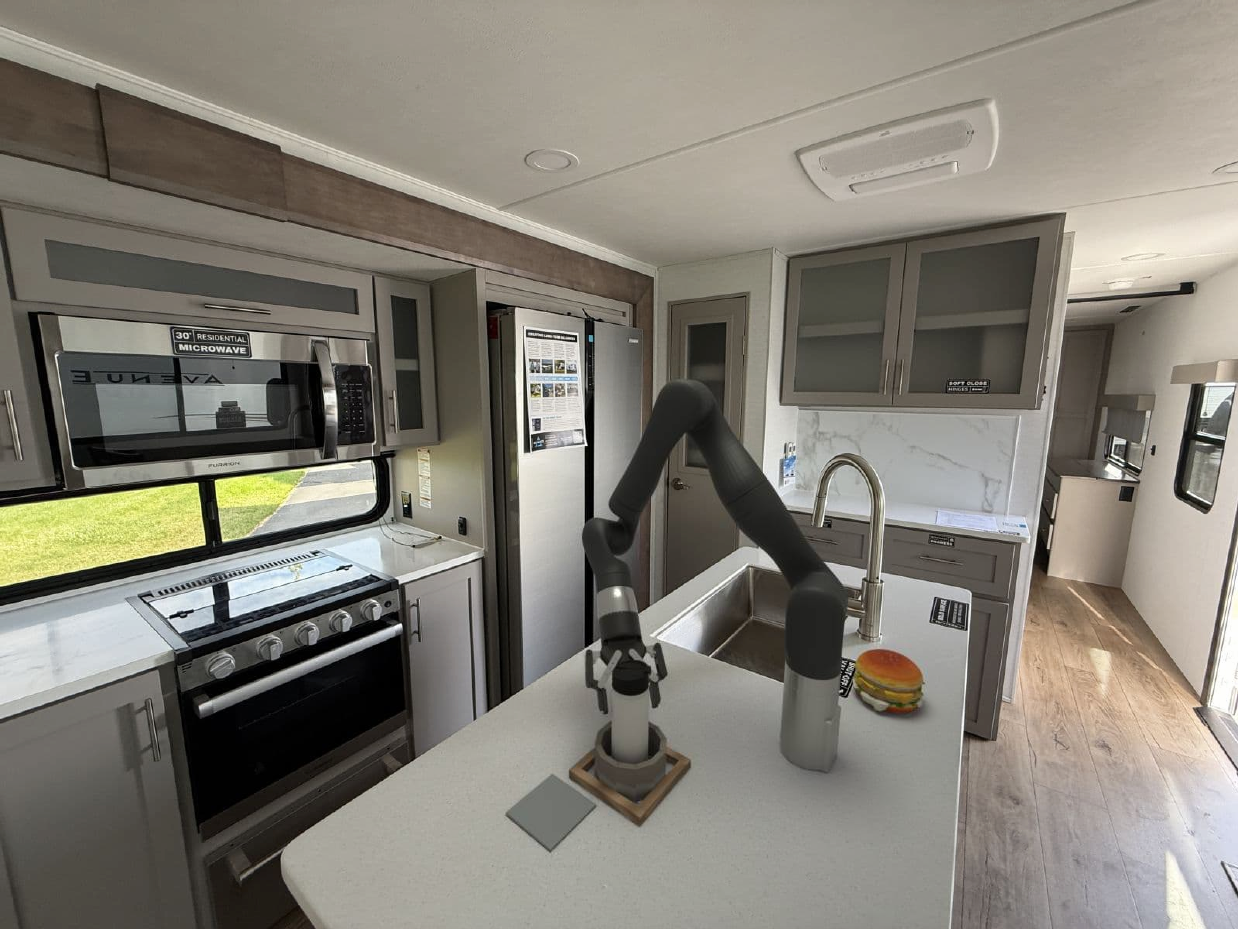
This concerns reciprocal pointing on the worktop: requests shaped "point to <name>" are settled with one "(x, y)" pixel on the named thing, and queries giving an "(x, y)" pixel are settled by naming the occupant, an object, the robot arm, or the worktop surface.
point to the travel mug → (630, 711)
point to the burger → (888, 681)
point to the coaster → (551, 811)
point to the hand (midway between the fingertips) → (631, 710)
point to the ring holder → (631, 774)
